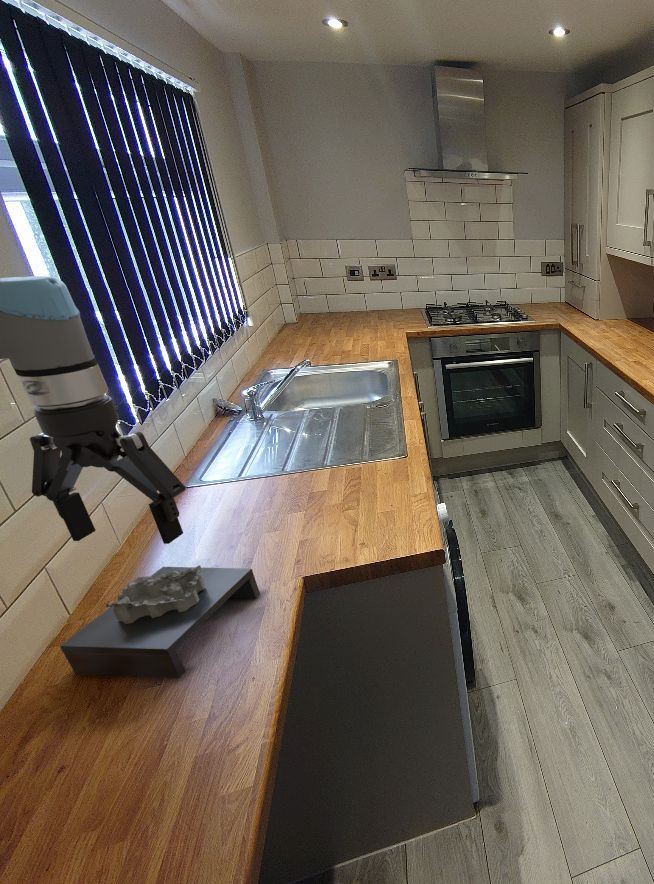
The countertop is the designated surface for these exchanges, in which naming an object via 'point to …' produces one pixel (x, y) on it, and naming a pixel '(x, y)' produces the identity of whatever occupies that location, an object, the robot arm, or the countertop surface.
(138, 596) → the egg carton
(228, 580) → the shelf
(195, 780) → the countertop surface
